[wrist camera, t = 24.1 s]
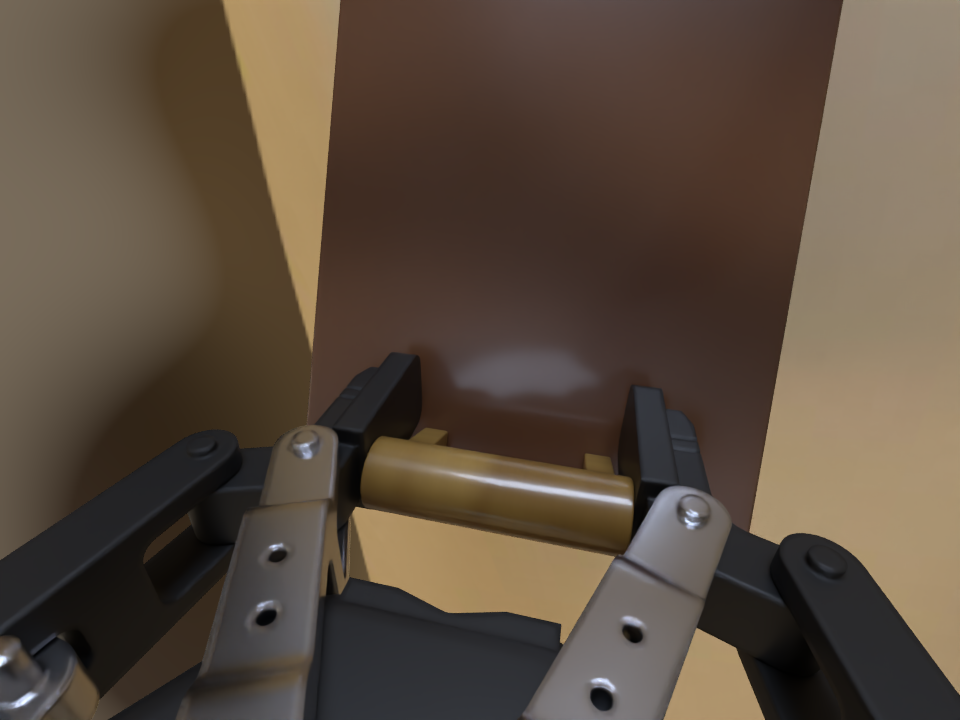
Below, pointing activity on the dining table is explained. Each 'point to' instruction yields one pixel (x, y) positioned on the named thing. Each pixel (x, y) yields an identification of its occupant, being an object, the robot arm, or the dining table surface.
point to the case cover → (565, 242)
